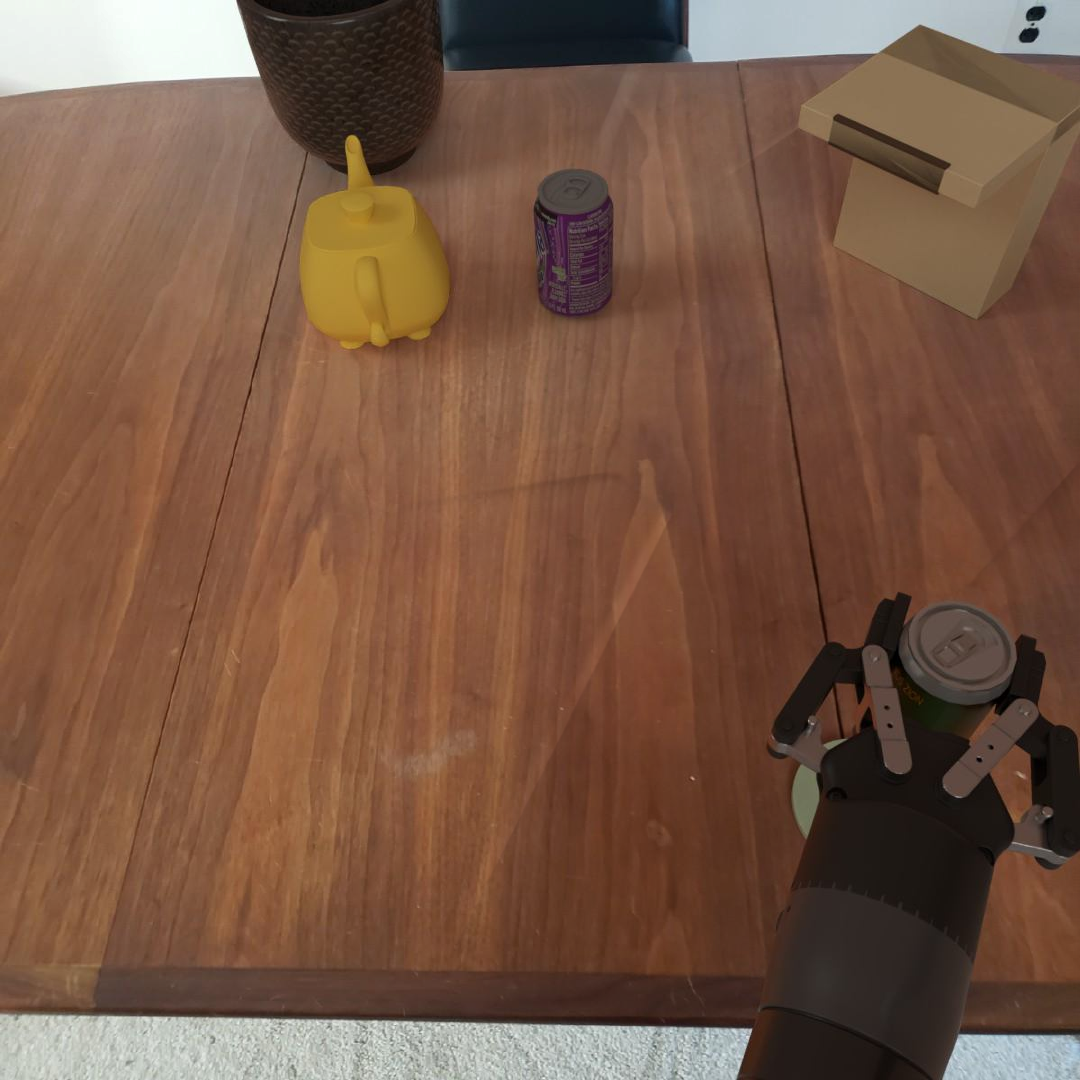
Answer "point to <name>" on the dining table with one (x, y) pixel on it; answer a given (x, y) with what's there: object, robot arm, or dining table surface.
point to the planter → (350, 73)
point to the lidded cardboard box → (946, 162)
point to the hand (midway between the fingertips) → (959, 623)
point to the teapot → (371, 262)
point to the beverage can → (574, 242)
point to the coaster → (806, 794)
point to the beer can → (952, 666)
